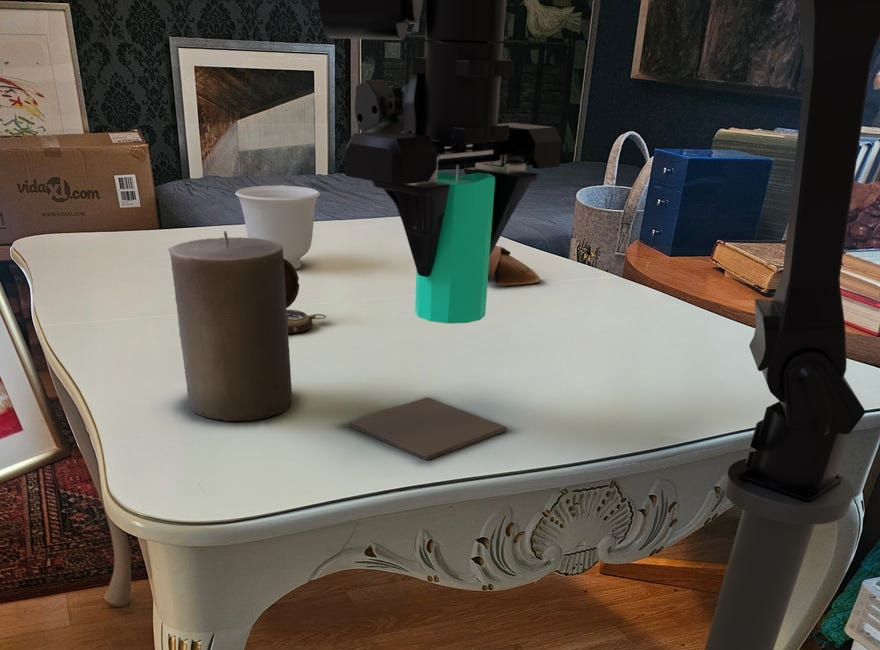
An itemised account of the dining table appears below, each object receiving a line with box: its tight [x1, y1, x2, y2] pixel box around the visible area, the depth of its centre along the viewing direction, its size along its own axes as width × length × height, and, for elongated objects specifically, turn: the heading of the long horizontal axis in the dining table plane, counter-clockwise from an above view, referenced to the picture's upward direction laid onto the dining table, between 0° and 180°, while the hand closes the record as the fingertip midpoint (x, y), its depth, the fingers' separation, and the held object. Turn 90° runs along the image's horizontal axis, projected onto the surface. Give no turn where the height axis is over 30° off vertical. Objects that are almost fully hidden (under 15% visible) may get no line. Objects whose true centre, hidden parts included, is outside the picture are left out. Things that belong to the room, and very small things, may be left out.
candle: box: [414, 165, 495, 324], centre depth 70 cm, size 6×6×12 cm
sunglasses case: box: [488, 245, 542, 287], centre depth 128 cm, size 18×7×7 cm
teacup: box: [234, 184, 321, 270], centre depth 127 cm, size 12×15×10 cm
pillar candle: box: [167, 230, 293, 422], centre depth 77 cm, size 10×10×15 cm
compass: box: [283, 258, 327, 334], centre depth 101 cm, size 8×8×7 cm
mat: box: [348, 397, 507, 461], centre depth 77 cm, size 10×10×1 cm
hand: (452, 270), depth 72 cm, fingers closed on candle, 6 cm apart
